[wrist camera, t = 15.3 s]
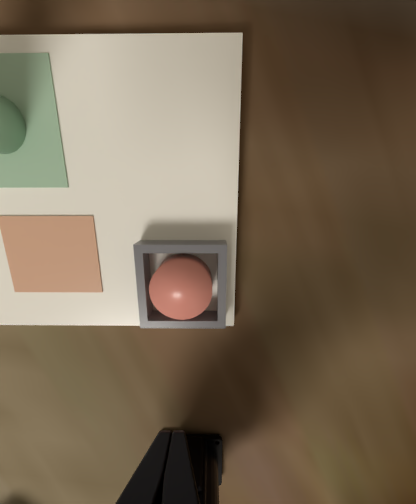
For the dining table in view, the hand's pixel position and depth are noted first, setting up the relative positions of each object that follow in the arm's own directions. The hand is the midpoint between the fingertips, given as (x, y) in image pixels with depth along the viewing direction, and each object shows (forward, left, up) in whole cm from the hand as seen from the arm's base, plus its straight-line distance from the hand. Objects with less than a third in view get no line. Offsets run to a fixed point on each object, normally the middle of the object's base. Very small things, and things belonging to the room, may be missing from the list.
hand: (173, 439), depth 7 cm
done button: (+1, +1, -11) cm, 11 cm away
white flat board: (+7, +8, -12) cm, 16 cm away
